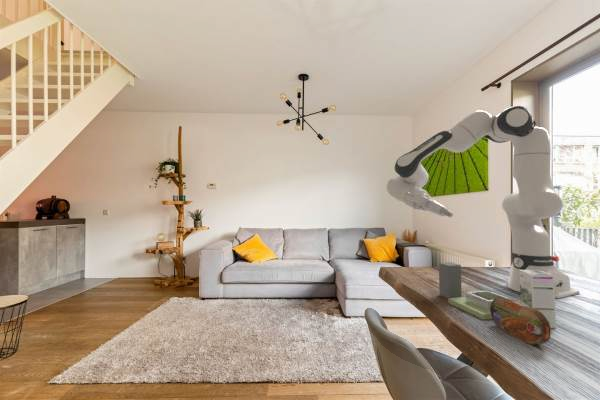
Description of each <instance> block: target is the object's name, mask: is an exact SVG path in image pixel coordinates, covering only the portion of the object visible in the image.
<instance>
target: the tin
mask: <svg viewBox="0 0 600 400" xmlns="http://www.w3.org/2000/svg"><path fill="white" fill-rule="evenodd" d="M511 299H512V298H510V299H506V298H496V299H494V300H493V301H492V303H491V307H490V312H491V316H492V319H491V320H492V321H493V323H494V324H495V325H496V326H497V328H499V329H500V330H502V331H503V332H505V333H507V334H509V335H511V336H512V337H515V338H517V339H518V340H520V341H521V342H524V343H525V344H529V345H543V344H546V343H548V342H549V340H550V338H551V333H552V332H551V328H550V324H549V322H548V320H547V319H546V317H545V316H544V315H543V314H542V313H541V312H540V311H538V310H537V309H534V308H532V307H529V306H526V305H524V304H521V302H518V301H516V300H513V299H512V300H511Z"/></svg>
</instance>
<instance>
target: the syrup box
mask: <svg viewBox="0 0 600 400" xmlns="http://www.w3.org/2000/svg"><path fill="white" fill-rule="evenodd" d="M519 275H520V292H519V296H520V300H519V301H520V302H519V303H521V304H524V305H526V306H529V307H532V308H534V309H537V310H538V311H540V312H541V313H542V314H543V315H544V316H545V317H546V319H547V320H548V322H549V324H550V329H557V314H556V298H555V289H554V275H551V274H549V273H546V272H543V271H540V270H519Z"/></svg>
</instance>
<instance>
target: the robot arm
mask: <svg viewBox="0 0 600 400" xmlns="http://www.w3.org/2000/svg"><path fill="white" fill-rule="evenodd" d="M536 124H537V123H536V121H535V119H534V118H533V115H532V113H531V111H530V110H529V109H528V108H526V106H521V105H513V106H510V107H508V108H506V109H504V110H502V111H501V112H500V113H499V114H497V115H491V114H490V113H489V112H487V111H484V110H476V111H474V112H472V113H470V114H469V115H468V116H466V117H464V118H462V120H460V121H458V122H457V124H456V125H454V126H453V127H451V128H450V129H447V130H442V131H440V132H438V133H436V134H434V135H432V136H431V137H430V138H428V139H427V140H426V141H424V142H422V143H421V144H419V145H418V146H416V147H415V148H413V149H412V150H410V151H409V152H407V153H404V154H403V155H401V156H400V157H398V158H397V160H396V162H395V163H394V171H395V173H396V174H398V175H399V176H396V177H392V178H390V179H389V180H388V182H387V184H386V192H388V194H389V195H390V196H391V197H393V198H394V199H396V200H397V201H400V202H403V203H404V204H405V205H406V206H408V207H410V208H412V209H413V210H421V211H425V212H426V211H427V212H430V213H434V214H436V215H438V216H441V217H445V216H446V217H448V218H450V219H451V218H452V217H453V216H454V213H452V212H450V211H449V209H448V208H447V207H446V206H444V205H443V204H441V203H439V202H438V201H437V200H435V199H434V198H433V197H432V196H431V195H430V194H429V193H428V191H427V190H425V189H423V187H425V186H426V185H427V183H428V182H429V180H430V179H429V178H430V175H429V173H428V171H427V170H426V169H425V167H424V166H423V164H422V161H424V160H425V159H427V158H428V157H430V156H431V155H432V154H434V153H435V152H437V151H439V150H441V149H442V150H443V149H444V150H446V151H449V152H452V153H456V154H458V153H463V152H465V151H467V150H469V149H470V148H471V147H473V146H474V145H475V144H476V143H477V142H479V141H480V140H481V139H482V138H486V139H488V140H489V141H492V142H494V143H497V144H501V143H507V142H509V141H510V142H511V144H512V145H513V161H512V176H513V179H514V180H515V182H516V184H517V188H518V191H515V192H513V193H510V194H509V195H506V197H504V199H503V200H502V203H501V207H502V209H503V211H504V212H505V214H506V216H507V219H508V223H509V227H510V231H511V245H512V246H511V247H512V249H511V250H512V252H511V255H510V258H511V262H512V263H511V265H510V269H509V279H508V280H507V285H508V286H507V287H508V288H509V289H511V290H513V291H515V292H519V293H520V275H519V270H540V271H543V272H546V273H549V274H551V275H554V289H555V299H561V298H565V297H570V296H574V295H578V294H580V290H579V289H576V288H575V287H571V281H570V278H569V277H570V276H569V275H567V274H565V273H564V272H563V271H562V270H561V269H559V268H558V267H557V266H555V263H554V262H556V263H557V262H558V263H559V256H556V255H555V256H554V255H551V254H550V234H549V233H548V231H546V229H545V227H544V225H543V222H542V220H545V219H549V218H553V217H556V216H557V215H558V214H559V213H561V211H562V209H563V207H564V204H563V199H562V198H561V197H560V195H558V193H556V190H555V188H554V185H553V182H552V178H551V177H552V176H551V149H552V148H551V141H550V135H549V132H548V130H547V129H545V128H544V127H539V126H536Z"/></svg>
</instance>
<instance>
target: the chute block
mask: <svg viewBox="0 0 600 400" xmlns="http://www.w3.org/2000/svg"><path fill="white" fill-rule="evenodd" d="M438 279H439V282H438V285H439V286H438V288H439V292H438V293H439V296H440V295H441V296H440V297H442V296H443V297H442V298H444V299H447V300H448V298H458V297H463V296H462V293H463V292H462V265H461V264H458V263H455V262H439V263H438Z"/></svg>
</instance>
